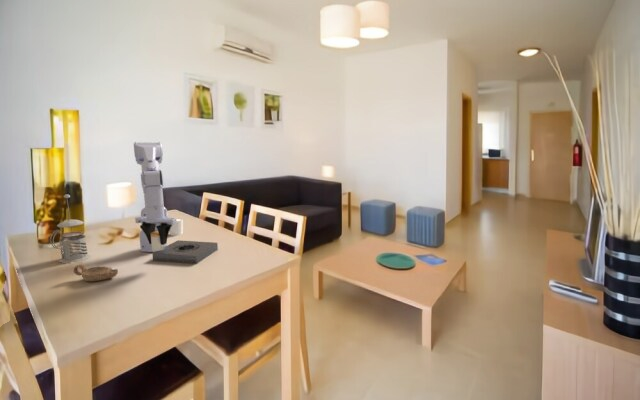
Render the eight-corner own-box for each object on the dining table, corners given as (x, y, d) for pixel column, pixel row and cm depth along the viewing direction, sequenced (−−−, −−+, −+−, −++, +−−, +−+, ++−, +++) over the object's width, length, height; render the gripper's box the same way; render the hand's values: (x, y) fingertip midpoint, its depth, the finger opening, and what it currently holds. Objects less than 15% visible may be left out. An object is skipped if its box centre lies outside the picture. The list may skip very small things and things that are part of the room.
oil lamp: (123, 274, 107) (122, 260, 106) (109, 284, 100) (107, 269, 99) (84, 274, 107) (82, 260, 106) (67, 284, 100) (65, 269, 99)
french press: (96, 256, 124) (88, 193, 119) (62, 266, 113) (52, 198, 109) (82, 252, 128) (73, 191, 124) (47, 262, 118) (37, 196, 113)
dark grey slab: (153, 260, 119) (152, 253, 119) (178, 247, 135) (177, 240, 134) (196, 263, 117) (196, 255, 116) (217, 249, 132) (217, 242, 132)
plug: (149, 250, 110) (147, 234, 109) (157, 246, 114) (155, 230, 113) (159, 251, 109) (158, 234, 108) (167, 247, 113) (166, 231, 112)
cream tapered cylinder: (187, 232, 157) (186, 219, 155) (176, 236, 150) (175, 222, 149) (176, 231, 159) (174, 218, 158) (165, 235, 153) (164, 221, 151)
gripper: (127, 207, 106) (131, 245, 109) (166, 208, 104) (169, 248, 106) (142, 203, 113) (145, 239, 115) (179, 204, 111) (181, 242, 113)
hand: (158, 243), depth 111 cm, fingers closed on plug, 4 cm apart
